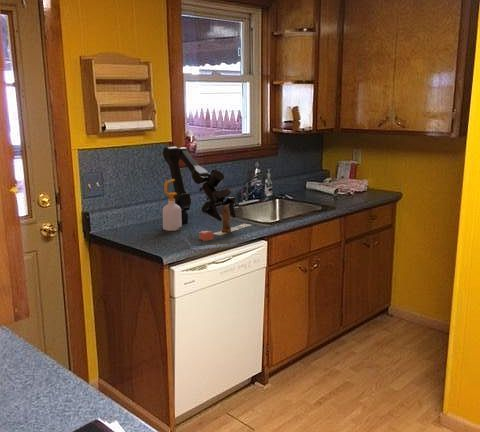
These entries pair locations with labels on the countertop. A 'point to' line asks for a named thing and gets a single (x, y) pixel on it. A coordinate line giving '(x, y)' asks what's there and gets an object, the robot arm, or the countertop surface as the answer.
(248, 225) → the track board
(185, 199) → the robot arm
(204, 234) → the red cube
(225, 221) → the pawn
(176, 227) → the soap bottle
